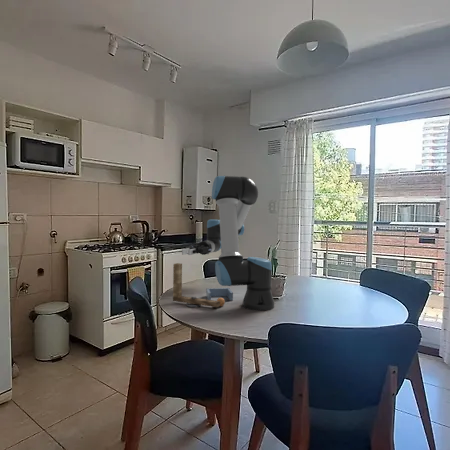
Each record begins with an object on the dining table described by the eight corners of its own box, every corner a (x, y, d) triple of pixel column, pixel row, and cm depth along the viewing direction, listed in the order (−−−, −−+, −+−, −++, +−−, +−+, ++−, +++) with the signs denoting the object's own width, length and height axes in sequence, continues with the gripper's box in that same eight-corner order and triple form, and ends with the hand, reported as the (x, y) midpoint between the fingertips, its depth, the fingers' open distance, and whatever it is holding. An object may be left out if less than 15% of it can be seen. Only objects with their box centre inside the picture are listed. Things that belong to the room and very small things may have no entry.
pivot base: (203, 304, 165) (203, 302, 165) (196, 308, 159) (196, 306, 159) (190, 302, 168) (190, 301, 168) (183, 306, 162) (183, 304, 162)
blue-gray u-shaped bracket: (232, 300, 173) (233, 292, 173) (208, 301, 171) (208, 293, 171) (229, 295, 183) (229, 288, 183) (206, 295, 181) (206, 288, 181)
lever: (219, 305, 160) (220, 267, 159) (217, 307, 157) (218, 268, 156) (176, 299, 169) (176, 263, 168) (173, 300, 166) (173, 264, 165)
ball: (226, 306, 163) (226, 297, 163) (220, 307, 160) (220, 299, 160) (220, 304, 166) (220, 296, 166) (214, 306, 163) (214, 297, 163)
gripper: (218, 255, 192) (199, 260, 170) (193, 253, 198) (172, 258, 176) (219, 241, 192) (200, 245, 170) (193, 240, 198) (172, 243, 176)
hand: (185, 252), depth 173 cm, fingers open, 3 cm apart
